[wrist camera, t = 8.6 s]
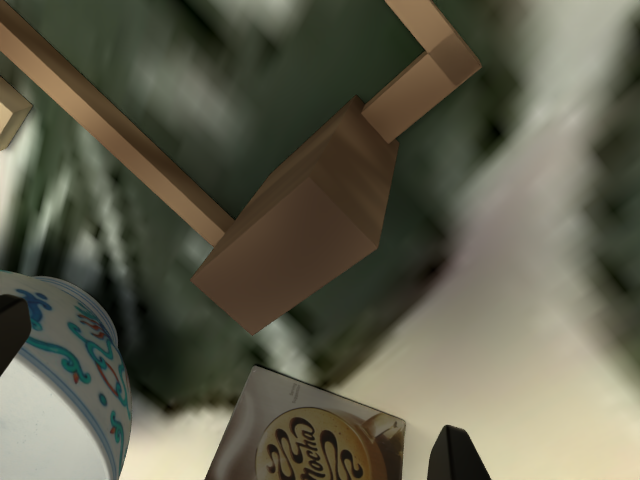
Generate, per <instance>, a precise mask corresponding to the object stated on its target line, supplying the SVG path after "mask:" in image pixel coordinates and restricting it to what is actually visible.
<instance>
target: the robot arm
mask: <svg viewBox="0 0 640 480" xmlns="http://www.w3.org/2000/svg"><path fill="white" fill-rule="evenodd" d="M31 328H32V325H31V319H30V313H29V307H28V303H27V301H26V300H25V299H24V298H21V297H18V296H15V295H11V294H3V295H0V377H1V375H2V374H3V373H4V371H5V370H6V368H7V367H8V366H9V364H10V363H11V362H12V360H13V359H14V357H15V356H16V355H17V353H18V352H19V350H20V349H21V348H22V346H23V345H24V343H25V342H26V341H27V339H28V337H29V335H30V333H31ZM427 480H491V478H490V476H489V474H488V472H487V470H486V468H485V466H484V464H483V462H482V460H481V458H480V456H479V454H478V452H477V451H476V449H475V447H474V445H473V443H472V441H471V439H470V437H469V435H468V433H467V432H466V431H465V430H464V429H461V428H457V427H454V426H451V425H445V426H444V427H443V428H442V430H441V432H440V434H439V436H438V438H437V440H436V442H435V444H434V446H433V448H432V451H431V454H430V459H429V467H428V476H427Z"/></svg>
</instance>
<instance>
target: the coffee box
mask: <svg viewBox="0 0 640 480" xmlns="http://www.w3.org/2000/svg"><path fill="white" fill-rule="evenodd" d="M405 429H406V423H405V422H404V421H403V420H401V419H398V418H396V417H393V416H390V415H387V414H385V413H382V412H379V411H377V410H374V409H371V408H368V407H366V406H363V405H360V404H358V403H355V402H352V401H350V400H347V399H344V398H342V397H339V396H336V395H334V394H331V393H328V392H326V391H323V390H320V389H318V388H315V387H312V386H309V385H307V384H304V383H301V382H299V381H296V380H293V379H291V378H288V377H285V376H282V375H280V374H277V373H274V372H272V371H269V370H266V369H264V368H261V367H258V366H253V367H252V369H251V372H250V374H249V376H248V379H247V381H246V383H245V386H244V388H243V391H242V393H241V395H240V397H239V400H238V402H237V404H236V406H235V409H234V411H233V413H232V416H231V418H230V421H229V423H228V425H227V428H226V430H225V432H224V435H223V437H222V440H221V442H220V444H219V447H218V449H217V451H216V454H215V456H214V459H213V461H212V463H211V466H210V468H209V470H208V473H207V475H206V477H205V480H402V466H403V449H404V436H405Z"/></svg>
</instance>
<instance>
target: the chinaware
mask: <svg viewBox="0 0 640 480" xmlns="http://www.w3.org/2000/svg"><path fill="white" fill-rule="evenodd" d="M3 294H11V295H15V296H18V297H21V298H24V299H25V300H26V301H27V303H28V307H29V313H30V319H31V325H32V328H31V333H30V335H29V337H28V339H27V341H26V342H25V343H24V345H23V346H22V348H21V349H20V350H19V352H18V353H17V355H16V356H15V357H14V359H13V360H12V362H11V363H10V364H9V366H8V367H7V368H6V370H5V371H4V373H3V374H2V375H1V377H0V480H119V477H120V474H121V471H122V468H123V464H124V461H125V457H126V453H127V449H128V444H129V439H130V432H131V423H132V397H131V388H130V383H129V378H128V374H127V370H126V367H125V364H124V361H123V359H122V356H121V354H120V351H119V349H118V336H117V332H116V329H115V326H114V324H113V322H112V320H111V318H110V317H109V315H108V314H107V312H106V311H105V310H104V308H103V307H102V306H101V305H100V304H99V303H98V302H97V301H96V300H95V299H94V298H93V297H91V296H90V295H89V294H88V293H86V292H85V291H83V290H82V289H80V288H79V287H77V286H75V285H73V284H71V283H69V282H66V281H64V280H61V279H57V278H53V277H47V276H34V277H29V276H26V275H22V274H19V273H14V272H10V271H4V270H0V295H3Z"/></svg>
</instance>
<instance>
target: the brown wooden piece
mask: <svg viewBox="0 0 640 480" xmlns="http://www.w3.org/2000/svg"><path fill="white" fill-rule="evenodd" d="M385 1H386V3H387V4H388V5H389V6H390V8H391V9H392V10H393V11H394V12H395V14H396V15H397V16H398V17H399V19H400V20H401V21H402V22H403V23H404V25H405V26H406V27H407V28H408V29H409V31H410V32H411V33H412V34H413V36H414V37H415V38H416V39H417V40H418V42H419V43H420V44H421V45H422V47H423V48H424V49H425V51H424V52H423V53H422V54H421V55H420V56H419V57H417V58H416V59H415V60H414V61H413V62H412V63H411V64H410V65H409V66H407V67H406V68H405V69H404V70H403V71H402V72H401V73H400V74H399V75H397V76H396V77H395V78H394V79H393V80H392V81H391V82H390V83H388V84H387V85H386V86H385V87H384V88H383V89H382V90H381V91H380V92H378V93H377V94H376V95H375V96H374V97H373V98H372V99H371V100H370V101H368V102H367V103H366V104H364V103H363V102H362V100H361V99H360V98H359V97H358V96H357V95H355V96H354V97H353V98H352V99H351V100H350V101H349V102H348V103H347V104H345V105H344V106H343V107H342V108H341V109H340V110H339V111H338V112H337V113H336V114H335V115H334V116H332V117H331V118H330V119H329V120H328V121H327V122H326V123H325V124H324V125H323V126H322V127H321V128H320V129H318V130H317V131H316V132H315V133H314V134H313V135H312V136H311V137H310V138H309V139H308V140H307V141H305V142H304V143H303V144H302V145H301V146H300V147H299V148H298V149H297V150H296V151H295V152H294V153H292V154H291V155H290V156H289V157H288V158H287V159H286V160H285V161H284V162H283V163H282V164H281V165H279V166H278V167H277V168H276V169H275V170H274V171H273V172H272V173H271V174H270V175H269V176H268V178H267V179H266V180H265V182H264V183H263V184H262V186H261V187H260V188H259V189H258V191H257V192H256V193H255V195H254V196H253V197H252V199H251V200H250V201H249V203H248V204H247V205H246V207H245V208H244V209H243V211H242V212H241V213H240V215H239V216H238V217H237V218H236V220H234V219H233V218H232V217H230V216H229V215H228V214H227V213H226V212H225V211H224V210H223V209H222V208H221V207H220V206H219V205H218V204H217V203H216V202H215V201H214V200H213V199H212V198H211V197H209V196H208V195H207V194H206V193H205V192H204V191H203V190H202V189H201V188H200V187H199V186H198V185H197V184H196V183H195V182H194V181H193V180H192V179H191V178H190V177H189V176H187V175H186V174H185V173H184V172H183V171H182V170H181V169H180V168H179V167H178V166H177V165H176V164H175V163H174V162H173V161H172V160H171V159H170V158H169V157H168V156H166V155H165V154H164V153H163V152H162V151H161V150H160V149H159V148H158V147H157V146H156V145H155V144H154V143H153V142H152V141H151V140H150V139H149V138H148V137H147V136H146V135H144V134H143V133H142V132H141V131H140V130H139V129H138V128H137V127H136V126H135V125H134V124H133V123H132V122H131V121H130V120H129V119H128V118H127V117H126V116H125V115H123V114H122V113H121V112H120V111H119V110H118V109H117V108H116V107H115V106H114V105H113V104H112V103H111V102H110V101H109V100H108V99H107V98H106V97H105V96H104V95H102V94H101V93H100V92H99V91H98V90H97V89H96V88H95V87H94V86H93V85H92V84H91V83H90V82H89V81H88V80H87V79H86V78H85V77H84V76H83V75H82V74H80V73H79V72H78V71H77V70H76V69H75V68H74V67H73V66H72V65H71V64H70V63H69V62H68V61H67V60H66V59H65V58H64V57H63V56H62V55H61V54H59V53H58V52H57V51H56V50H55V49H54V48H53V47H52V46H51V45H50V44H49V43H48V42H47V41H46V40H45V39H44V38H43V37H42V36H41V35H40V34H39V33H37V32H36V31H35V30H34V29H33V28H32V27H31V26H30V25H29V24H28V23H27V22H26V21H25V20H24V19H23V18H22V17H21V16H20V15H19V14H18V13H16V12H15V11H14V10H13V9H12V8H11V7H10V6H9V5H8V4H7V3H6V2H5V1H4V0H0V51H1V52H3V53H4V54H5V55H6V56H7V57H8V58H9V59H10V60H11V61H12V62H13V63H14V64H16V65H17V66H18V67H19V68H20V69H21V70H22V71H23V72H24V73H25V74H26V75H27V76H29V77H30V78H31V79H32V80H33V81H34V82H35V83H36V84H37V85H38V86H39V87H40V88H42V89H43V90H44V91H45V92H46V93H47V94H48V95H49V96H50V97H51V98H52V99H53V100H55V101H56V102H57V103H58V104H59V105H60V106H61V107H62V108H63V109H64V110H65V111H66V112H68V113H69V114H70V115H71V116H72V117H73V118H74V119H75V120H76V121H77V122H78V123H79V124H81V125H82V126H83V127H84V128H85V129H86V130H87V131H88V132H89V133H90V134H91V135H92V136H94V137H95V138H96V139H97V140H98V141H99V142H100V143H101V144H102V145H103V146H104V147H105V148H107V149H108V150H109V151H110V152H111V153H112V154H113V155H114V156H115V157H116V158H117V159H118V160H120V161H121V162H122V163H123V164H124V165H125V166H126V167H127V168H128V169H129V170H130V171H131V172H133V173H134V174H135V175H136V176H137V177H138V178H139V179H140V180H141V181H142V182H143V183H144V184H146V185H147V186H148V187H149V188H150V189H151V190H152V191H153V192H154V193H155V194H156V195H157V196H159V197H160V198H161V199H162V200H163V201H164V202H165V203H166V204H167V205H168V206H169V207H170V208H172V209H173V210H174V211H175V212H176V213H177V214H178V215H179V216H180V217H181V218H182V219H183V220H185V221H186V222H187V223H188V224H189V225H190V226H191V227H192V228H193V229H194V230H195V231H196V232H198V233H199V234H200V235H201V236H202V237H203V238H204V239H205V240H206V241H207V242H208V243H209V244H211V245H212V246H213V247H214V249H213V250H212V251H211V253H210V254H209V255H208V257H207V258H206V259H205V261H204V262H203V263H202V265H201V266H200V267H199V269H198V270H197V271H196V273H195V274H194V275H193V276H192V278H191V279H190V281H191V282H192V283H193V284H195V285H196V286H197V287H198V288H199V289H200V290H201V291H202V292H204V293H205V294H206V295H207V296H208V297H209V298H210V299H211V300H213V301H214V302H215V303H216V304H217V305H218V306H219V307H220V308H222V309H223V310H224V311H225V312H226V313H227V314H228V315H229V316H231V317H232V318H233V319H234V320H235V321H236V322H237V323H238V324H240V325H241V326H242V327H243V328H244V329H245V330H246V331H247V332H249V333H250V334H251V335H252V336H253V335H254V334H256V333H257V332H259V331H260V330H261V329H263V328H264V327H266V326H267V325H269V324H270V323H271V322H273V321H274V320H276V319H277V318H279V317H280V316H281V315H283V314H284V313H286V312H287V311H289V310H290V309H292V308H293V307H294V306H296V305H297V304H299V303H300V302H302V301H303V300H304V299H306V298H307V297H309V296H310V295H312V294H313V293H314V292H316V291H317V290H319V289H320V288H322V287H323V286H324V285H326V284H327V283H329V282H330V281H332V280H333V279H334V278H336V277H337V276H339V275H340V274H342V273H343V272H344V271H346V270H347V269H349V268H350V267H352V266H353V265H355V264H356V263H357V262H359V261H360V260H362V259H363V258H365V257H366V256H367V255H369V254H370V253H372V252H373V251H375V250H376V249H377V248H378V246H379V241H380V236H381V231H382V226H383V221H384V216H385V212H386V207H387V202H388V197H389V192H390V187H391V182H392V177H393V172H394V168H395V163H396V158H397V153H398V148H399V142H398V141H397V140H396V139H395V138H396V137H397V136H399V135H400V134H401V133H402V132H404V131H405V130H406V129H407V128H408V127H410V126H411V125H412V124H413V123H415V122H416V121H417V120H418V119H419V118H421V117H422V116H423V115H424V114H425V113H427V112H428V111H429V110H430V109H432V108H433V107H434V106H435V105H436V104H438V103H439V102H440V101H441V100H442V99H444V98H445V97H446V96H447V95H449V94H450V93H451V92H452V91H453V90H455V89H456V88H457V87H458V86H459V85H461V84H462V83H463V82H464V81H466V80H467V79H468V78H469V77H470V76H472V75H473V74H474V73H475V72H477V71H478V70H479V69H480V68H481V67H482V66H481V63H480V61H479V59H478V58H477V57H476V55H475V54H474V53H473V52H472V50H471V49H470V48H469V46H468V45H467V44H466V43H465V41H464V40H463V39H462V38H461V36H460V35H459V34H458V33H457V31H456V30H455V29H454V28H453V26H452V25H451V24H450V22H449V21H448V20H447V19H446V17H445V16H444V15H443V14H442V12H441V11H440V10H439V9H438V7H437V6H436V5H435V4H434V2H433V1H432V0H385Z"/></svg>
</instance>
